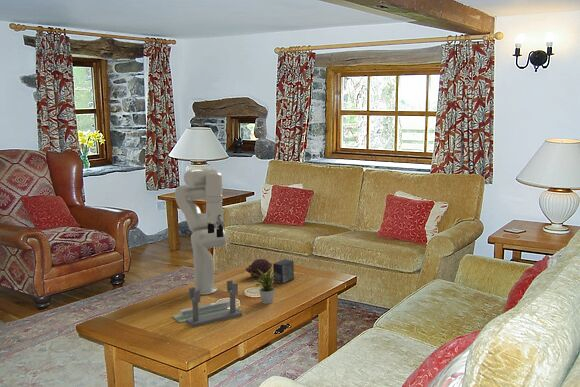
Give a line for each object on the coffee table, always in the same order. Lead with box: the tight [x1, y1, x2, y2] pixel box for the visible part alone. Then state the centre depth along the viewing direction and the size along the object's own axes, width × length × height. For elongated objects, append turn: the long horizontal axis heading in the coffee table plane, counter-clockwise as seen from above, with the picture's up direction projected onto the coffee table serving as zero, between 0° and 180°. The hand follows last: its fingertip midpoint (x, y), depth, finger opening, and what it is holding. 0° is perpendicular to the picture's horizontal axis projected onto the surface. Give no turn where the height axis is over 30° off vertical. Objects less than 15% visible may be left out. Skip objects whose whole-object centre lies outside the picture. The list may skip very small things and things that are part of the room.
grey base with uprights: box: [186, 279, 243, 328], centre depth 266 cm, size 6×24×16 cm, turn 122°
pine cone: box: [245, 258, 273, 279], centre depth 327 cm, size 18×10×10 cm, turn 133°
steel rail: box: [179, 299, 230, 318], centre depth 274 cm, size 3×24×3 cm, turn 122°
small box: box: [272, 258, 295, 285], centre depth 319 cm, size 11×6×10 cm, turn 144°
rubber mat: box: [171, 306, 240, 324], centre depth 275 cm, size 9×29×1 cm, turn 122°
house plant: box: [251, 267, 279, 305], centre depth 288 cm, size 14×14×16 cm
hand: (215, 235), depth 282 cm, fingers open, 9 cm apart
